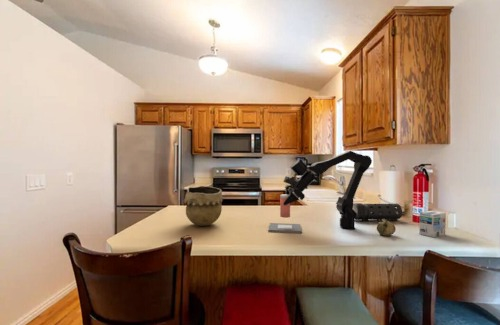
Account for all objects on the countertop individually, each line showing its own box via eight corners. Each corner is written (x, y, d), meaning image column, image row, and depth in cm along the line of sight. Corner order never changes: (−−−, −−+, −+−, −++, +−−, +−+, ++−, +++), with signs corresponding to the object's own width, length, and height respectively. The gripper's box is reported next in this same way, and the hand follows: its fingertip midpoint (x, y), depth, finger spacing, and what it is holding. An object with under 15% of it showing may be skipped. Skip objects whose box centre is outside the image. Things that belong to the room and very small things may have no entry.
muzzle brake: (402, 222, 153) (402, 204, 152) (355, 222, 150) (355, 204, 150) (392, 218, 162) (392, 201, 162) (347, 219, 160) (348, 201, 160)
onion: (396, 238, 121) (397, 220, 121) (377, 236, 124) (377, 219, 124) (394, 234, 128) (394, 217, 128) (375, 232, 131) (376, 216, 131)
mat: (299, 225, 141) (299, 223, 141) (301, 233, 128) (301, 231, 128) (269, 224, 143) (269, 222, 143) (268, 231, 130) (268, 229, 130)
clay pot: (231, 227, 138) (231, 188, 137) (192, 233, 126) (192, 191, 125) (213, 219, 155) (213, 184, 155) (177, 223, 143) (177, 186, 143)
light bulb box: (433, 237, 123) (433, 214, 123) (418, 234, 129) (418, 211, 129) (446, 235, 128) (446, 212, 128) (431, 231, 134) (431, 210, 134)
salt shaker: (291, 216, 136) (291, 194, 136) (287, 218, 132) (288, 195, 132) (282, 215, 139) (282, 194, 139) (278, 216, 134) (278, 195, 134)
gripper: (288, 170, 145) (268, 190, 144) (298, 171, 126) (275, 195, 125) (302, 184, 146) (282, 204, 145) (314, 188, 127) (291, 211, 126)
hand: (282, 203), depth 135 cm, fingers closed on salt shaker, 5 cm apart
